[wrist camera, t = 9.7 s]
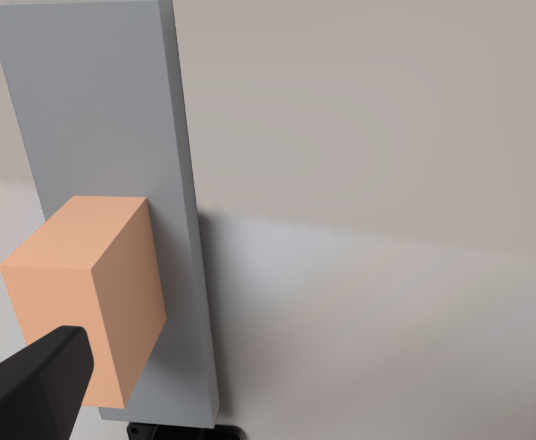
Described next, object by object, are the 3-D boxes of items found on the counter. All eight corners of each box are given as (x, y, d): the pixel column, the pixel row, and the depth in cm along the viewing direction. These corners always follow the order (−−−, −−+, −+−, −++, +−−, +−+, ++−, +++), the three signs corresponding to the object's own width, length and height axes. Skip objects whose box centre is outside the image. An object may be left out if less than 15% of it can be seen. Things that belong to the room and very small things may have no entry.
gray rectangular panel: (220, 405, 27) (187, 528, 21) (112, 396, 28) (54, 513, 22) (171, -4, 17) (89, 21, 12) (10, 1, 18) (-140, 26, 12)
